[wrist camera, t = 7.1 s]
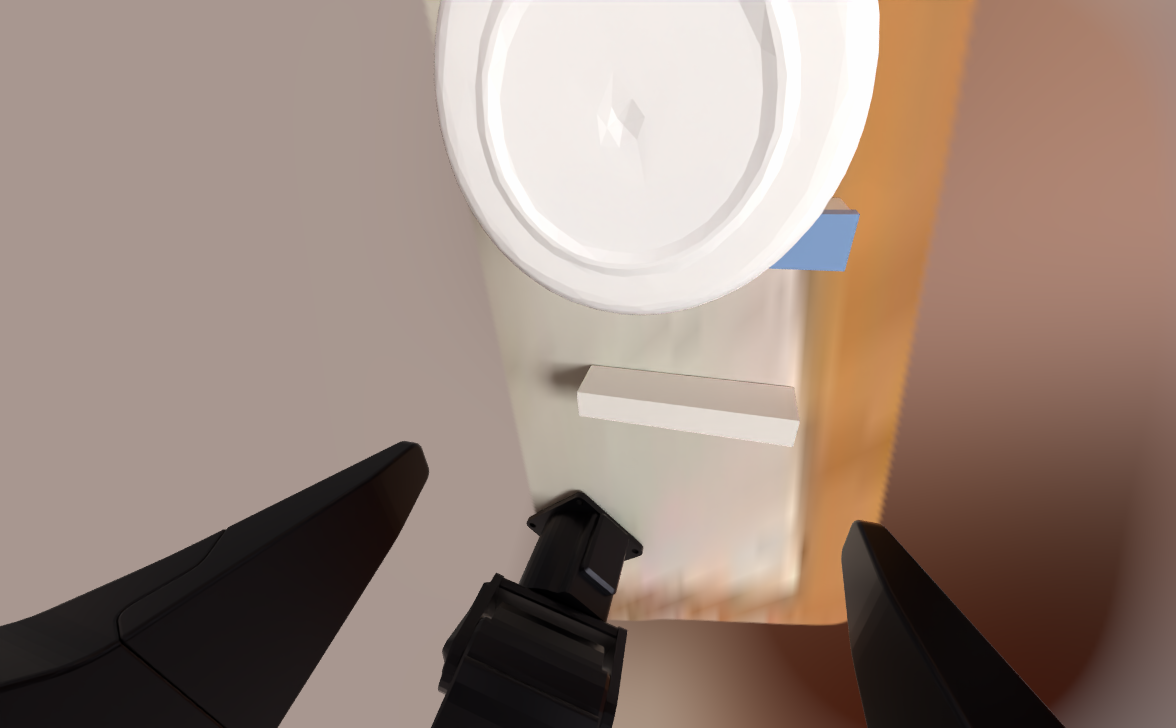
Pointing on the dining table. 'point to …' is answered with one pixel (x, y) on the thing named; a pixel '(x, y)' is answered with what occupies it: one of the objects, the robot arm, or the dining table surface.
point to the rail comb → (716, 400)
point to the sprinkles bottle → (651, 135)
